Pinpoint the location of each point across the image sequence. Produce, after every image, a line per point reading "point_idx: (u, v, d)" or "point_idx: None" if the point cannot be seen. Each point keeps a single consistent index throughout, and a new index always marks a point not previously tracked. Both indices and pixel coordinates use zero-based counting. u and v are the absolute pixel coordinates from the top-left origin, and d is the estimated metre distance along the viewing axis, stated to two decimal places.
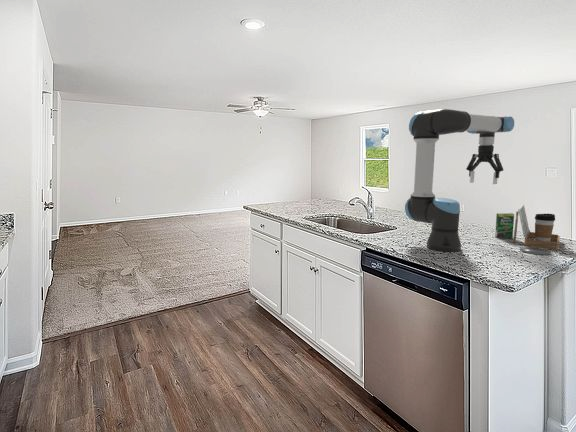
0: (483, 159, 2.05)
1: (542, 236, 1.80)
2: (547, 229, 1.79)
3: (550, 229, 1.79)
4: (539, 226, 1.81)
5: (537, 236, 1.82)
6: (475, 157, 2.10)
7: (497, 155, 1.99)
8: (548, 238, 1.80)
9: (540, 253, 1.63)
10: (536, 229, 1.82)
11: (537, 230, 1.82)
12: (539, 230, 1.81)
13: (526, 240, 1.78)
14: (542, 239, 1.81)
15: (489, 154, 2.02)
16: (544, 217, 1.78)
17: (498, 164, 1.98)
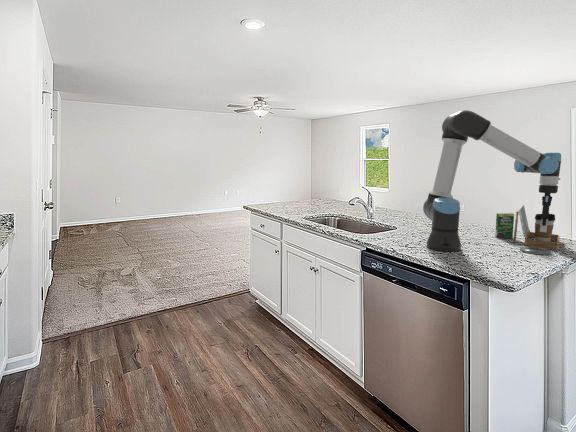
0: None
1: (542, 236, 1.80)
2: (547, 229, 1.79)
3: (550, 229, 1.79)
4: (539, 226, 1.81)
5: (537, 236, 1.82)
6: None
7: (546, 199, 1.75)
8: (548, 238, 1.80)
9: (540, 253, 1.63)
10: (536, 229, 1.82)
11: (538, 230, 1.82)
12: (539, 230, 1.81)
13: (526, 240, 1.78)
14: (542, 239, 1.81)
15: None
16: None
17: (542, 210, 1.76)
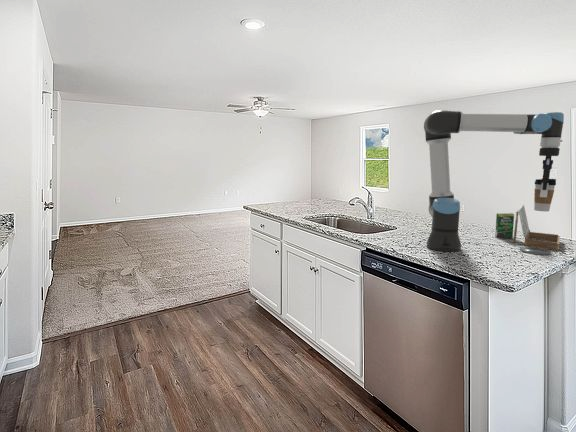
0: None
1: (542, 202, 1.71)
2: (548, 194, 1.69)
3: (551, 194, 1.69)
4: (539, 191, 1.71)
5: (537, 202, 1.73)
6: None
7: (547, 162, 1.65)
8: (548, 204, 1.71)
9: (540, 253, 1.63)
10: (536, 195, 1.73)
11: (537, 196, 1.72)
12: (539, 195, 1.71)
13: (526, 240, 1.78)
14: (542, 205, 1.71)
15: (545, 158, 1.68)
16: None
17: (543, 173, 1.66)
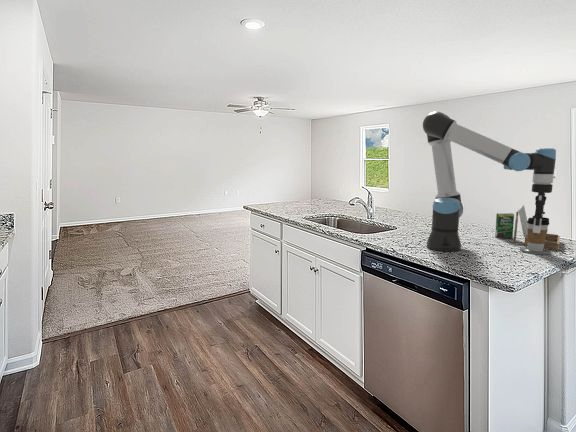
0: None
1: (535, 242, 1.66)
2: (541, 234, 1.64)
3: (544, 234, 1.64)
4: (532, 231, 1.66)
5: (530, 242, 1.68)
6: None
7: (540, 197, 1.59)
8: (541, 244, 1.65)
9: (540, 253, 1.63)
10: (529, 234, 1.68)
11: (530, 236, 1.67)
12: (532, 235, 1.66)
13: (526, 240, 1.78)
14: (535, 245, 1.66)
15: None
16: None
17: None
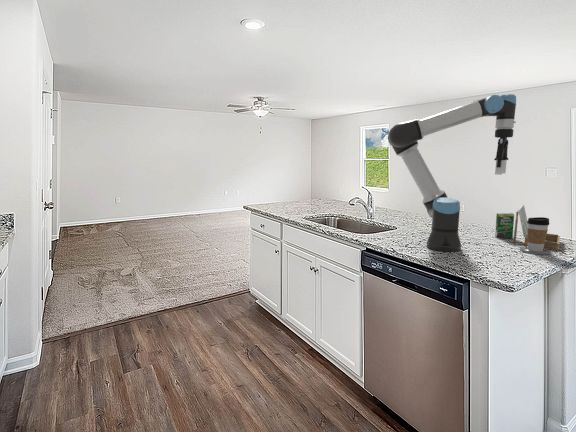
0: None
1: (535, 242, 1.66)
2: (541, 234, 1.64)
3: (544, 234, 1.64)
4: (532, 231, 1.66)
5: (530, 242, 1.68)
6: None
7: (501, 140, 1.70)
8: (541, 244, 1.65)
9: (540, 253, 1.63)
10: (529, 234, 1.68)
11: (530, 236, 1.67)
12: (532, 235, 1.66)
13: (526, 240, 1.78)
14: (535, 245, 1.66)
15: None
16: (537, 221, 1.64)
17: (497, 151, 1.70)
